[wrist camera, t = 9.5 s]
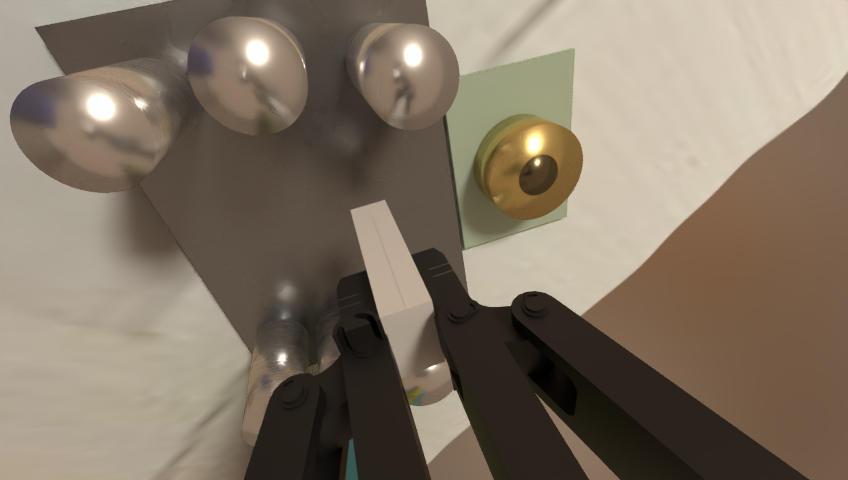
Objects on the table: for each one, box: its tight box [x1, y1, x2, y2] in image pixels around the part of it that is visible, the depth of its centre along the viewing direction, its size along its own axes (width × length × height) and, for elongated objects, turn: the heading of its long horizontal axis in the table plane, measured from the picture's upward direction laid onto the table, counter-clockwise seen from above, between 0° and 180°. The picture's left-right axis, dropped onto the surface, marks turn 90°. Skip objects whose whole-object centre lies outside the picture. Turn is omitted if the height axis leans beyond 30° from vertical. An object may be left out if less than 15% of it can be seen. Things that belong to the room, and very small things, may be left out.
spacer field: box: [10, 0, 468, 447], centre depth 17 cm, size 20×14×7 cm
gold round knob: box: [474, 114, 583, 220], centre depth 20 cm, size 5×5×2 cm
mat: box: [445, 49, 575, 249], centre depth 21 cm, size 10×7×1 cm
